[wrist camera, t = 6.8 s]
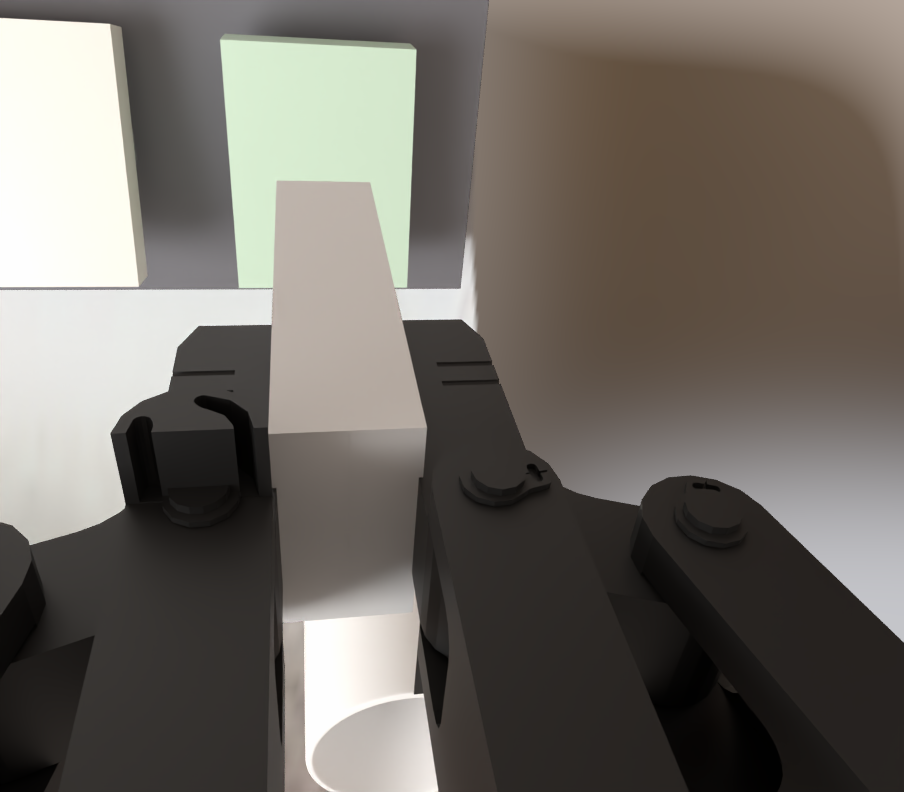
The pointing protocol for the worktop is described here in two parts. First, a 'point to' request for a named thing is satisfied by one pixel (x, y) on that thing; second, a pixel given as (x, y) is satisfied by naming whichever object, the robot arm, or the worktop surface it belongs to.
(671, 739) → the robot arm
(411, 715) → the mug
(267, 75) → the rocker green
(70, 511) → the worktop surface
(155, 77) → the switch panel
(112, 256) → the rocker cream
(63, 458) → the worktop surface
